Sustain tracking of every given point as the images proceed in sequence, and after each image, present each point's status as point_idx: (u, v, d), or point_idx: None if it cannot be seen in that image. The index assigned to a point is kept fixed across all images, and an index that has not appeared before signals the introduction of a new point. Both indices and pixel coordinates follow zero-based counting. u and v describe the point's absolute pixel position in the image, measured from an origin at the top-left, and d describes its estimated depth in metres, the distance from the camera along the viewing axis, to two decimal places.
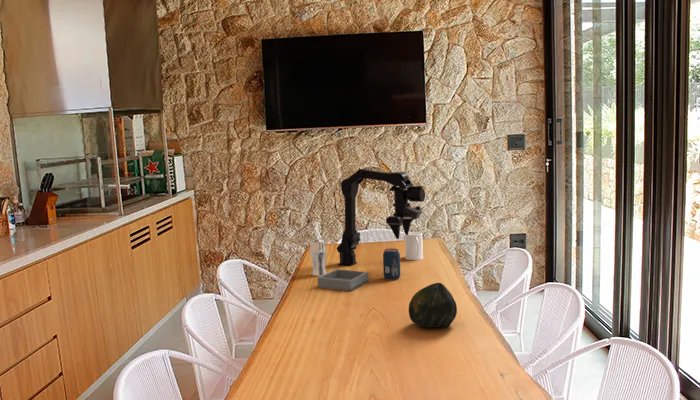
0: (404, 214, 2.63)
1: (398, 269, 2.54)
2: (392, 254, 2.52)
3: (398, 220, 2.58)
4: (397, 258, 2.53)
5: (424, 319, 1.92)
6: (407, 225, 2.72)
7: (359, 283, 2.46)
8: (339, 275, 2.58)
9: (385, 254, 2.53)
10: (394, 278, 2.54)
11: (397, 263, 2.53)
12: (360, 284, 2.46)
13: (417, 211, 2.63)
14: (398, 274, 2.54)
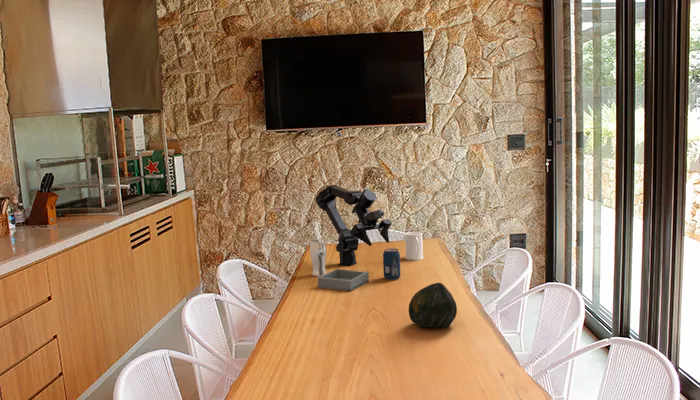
0: (366, 221, 2.63)
1: (398, 269, 2.54)
2: (392, 254, 2.52)
3: (356, 226, 2.59)
4: (397, 258, 2.53)
5: (424, 319, 1.92)
6: (384, 233, 2.66)
7: (359, 283, 2.46)
8: (339, 275, 2.58)
9: (385, 254, 2.53)
10: (394, 278, 2.54)
11: (397, 263, 2.53)
12: (360, 284, 2.46)
13: None
14: (398, 274, 2.54)
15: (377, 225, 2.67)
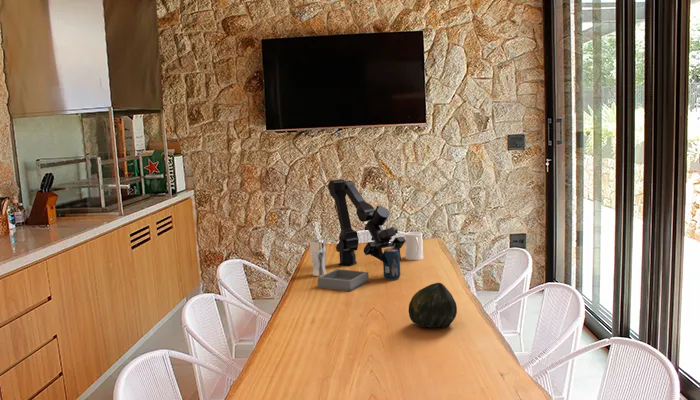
0: (379, 239, 2.56)
1: (398, 269, 2.54)
2: (392, 254, 2.52)
3: (369, 244, 2.52)
4: (397, 258, 2.53)
5: (424, 319, 1.92)
6: None
7: (359, 283, 2.46)
8: (339, 275, 2.58)
9: (385, 254, 2.53)
10: (394, 278, 2.54)
11: (397, 263, 2.53)
12: (360, 284, 2.46)
13: None
14: (398, 274, 2.54)
15: (391, 242, 2.60)
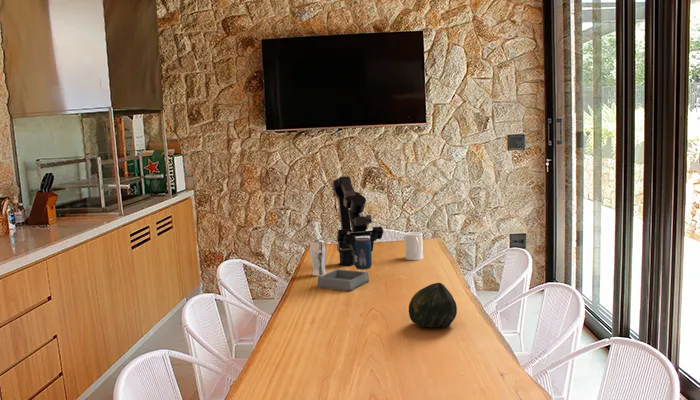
0: (353, 227, 2.51)
1: (367, 259, 2.47)
2: (359, 243, 2.46)
3: (338, 231, 2.49)
4: (365, 248, 2.46)
5: (424, 319, 1.92)
6: (370, 241, 2.51)
7: (359, 283, 2.46)
8: (339, 275, 2.58)
9: (354, 243, 2.48)
10: (362, 268, 2.47)
11: (366, 253, 2.46)
12: (360, 284, 2.46)
13: None
14: (367, 264, 2.47)
15: (368, 232, 2.53)
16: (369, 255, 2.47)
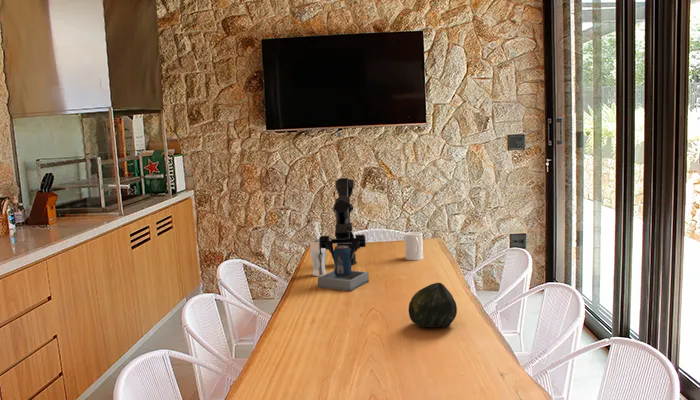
0: (335, 234, 2.51)
1: (344, 267, 2.46)
2: (337, 251, 2.45)
3: (320, 237, 2.51)
4: (343, 256, 2.45)
5: (424, 319, 1.92)
6: None
7: (359, 283, 2.46)
8: None
9: (334, 250, 2.48)
10: (339, 275, 2.47)
11: (343, 261, 2.45)
12: (360, 284, 2.46)
13: None
14: (344, 272, 2.46)
15: (350, 239, 2.52)
16: (347, 263, 2.46)
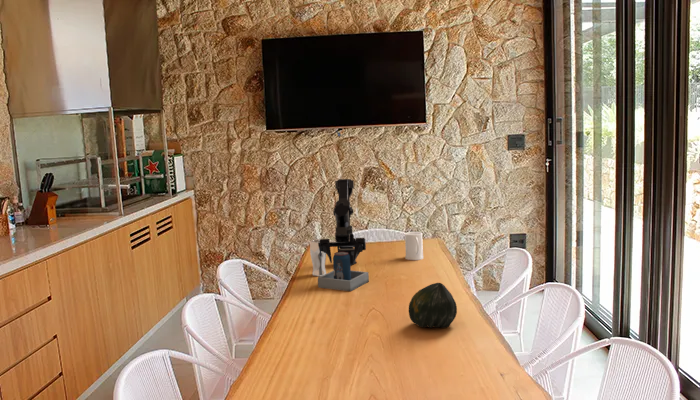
0: (335, 237, 2.51)
1: (344, 274, 2.46)
2: (336, 257, 2.46)
3: (320, 240, 2.51)
4: (342, 262, 2.45)
5: (424, 319, 1.92)
6: (354, 252, 2.49)
7: (359, 283, 2.46)
8: None
9: (333, 256, 2.48)
10: None
11: (343, 267, 2.46)
12: (360, 284, 2.46)
13: None
14: (344, 279, 2.46)
15: (350, 242, 2.52)
16: (347, 269, 2.46)
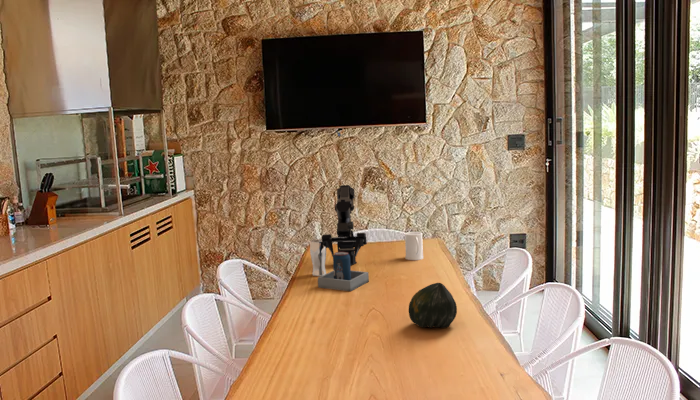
0: (337, 232, 2.61)
1: (344, 274, 2.46)
2: (336, 257, 2.46)
3: (322, 236, 2.60)
4: (342, 262, 2.45)
5: (424, 319, 1.92)
6: None
7: (359, 283, 2.46)
8: None
9: (333, 256, 2.48)
10: None
11: (343, 267, 2.46)
12: (360, 284, 2.46)
13: None
14: (344, 279, 2.46)
15: (352, 237, 2.61)
16: (347, 269, 2.46)
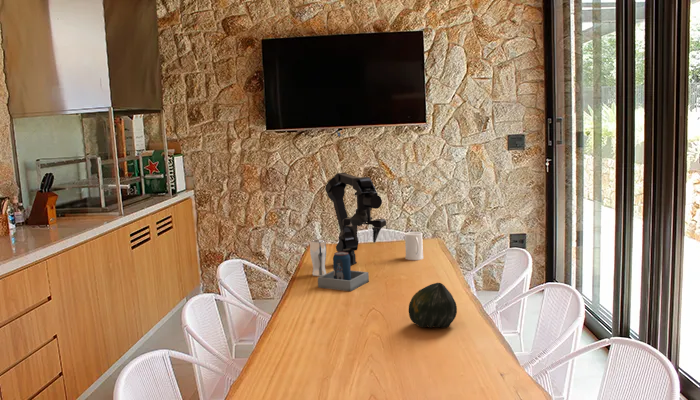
0: None
1: (344, 274, 2.46)
2: (336, 257, 2.46)
3: (343, 221, 2.70)
4: (342, 262, 2.45)
5: (424, 319, 1.92)
6: None
7: (359, 283, 2.46)
8: None
9: (333, 256, 2.48)
10: None
11: (343, 267, 2.46)
12: (360, 284, 2.46)
13: (354, 218, 2.61)
14: (344, 279, 2.46)
15: (370, 222, 2.66)
16: (347, 269, 2.46)
